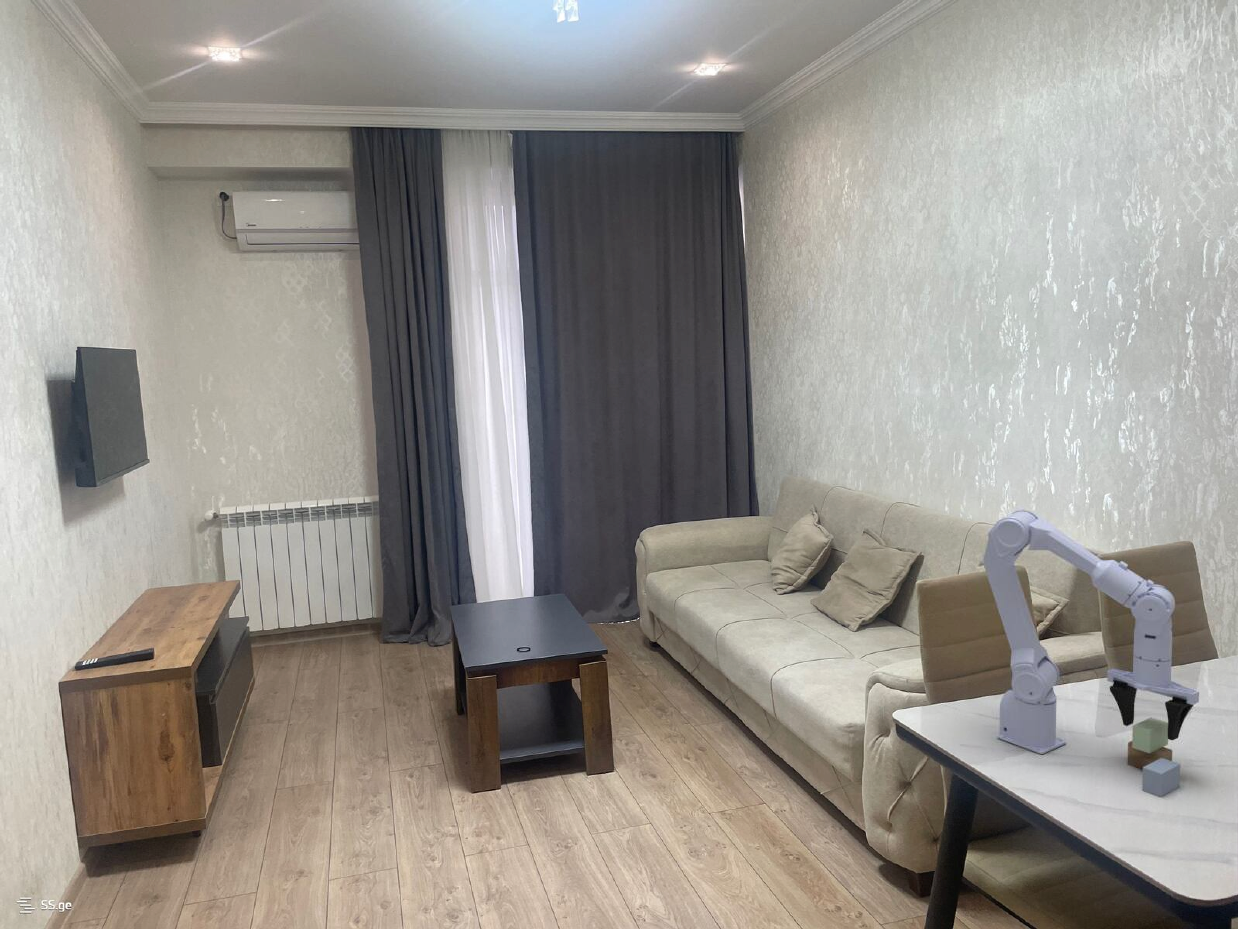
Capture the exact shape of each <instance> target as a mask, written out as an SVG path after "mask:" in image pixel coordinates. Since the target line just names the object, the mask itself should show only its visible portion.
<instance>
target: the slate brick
mask: <svg viewBox="0 0 1238 929" xmlns="http://www.w3.org/2000/svg"><path fill="white" fill-rule="evenodd" d="M1141 783H1142V784H1141V785H1142V786H1141V790H1142V791H1144V792H1146V793H1149V794H1152V795H1154V796H1157V797H1160V798H1161V797H1164V796H1165V795H1167V794H1169V793H1171V792H1173V791H1174V790H1176V789H1179V787H1180V785H1181V763H1179V762H1174V761H1173V760H1172V761H1170V760H1167V759H1164V758H1160V759H1158V760H1156V761H1154V762H1152V763H1151V764H1149V765H1147V766H1145V767H1143V769H1142V782H1141Z"/></svg>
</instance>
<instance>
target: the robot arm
mask: <svg viewBox="0 0 1238 929" xmlns="http://www.w3.org/2000/svg"><path fill="white" fill-rule="evenodd" d="M987 537H988V540H987V543H986V547H985V551H984V555H983V560H982V562H983V566H984V570H985V573H986V576H987V579H988V582H989V585H990V588H991V592H992V595H993V598H994V601H995V604H996V606H997V610H998V613H999V616H1000V618H1001V622H1002V625H1003V629H1004V631H1005V632H1004V633H1005V635H1006V638H1007V641H1008V644H1009V647H1010V652H1011V654H1010V665H1009V666H1010V669H1011V673H1012V677H1011V683H1010V684H1011V688H1012V689H1009V690H1007V691H1006V692H1005V693H1004V694H1003V696H1002V697H1001V700H1000V703H999V734H997V735H996V737H997V739H999V740H1002V741H1004V742H1007V743H1011V744H1014V745H1016V746H1018V747H1021V748H1024V749H1026V750H1029V751H1032V752H1034V753H1037V754H1039V755H1043V754H1046V753H1048V752H1050V751H1052V750H1054V749H1057V748H1059V747H1061V746H1064V745H1066V744H1067V742H1066V740H1065V739H1061V738H1059V737H1057V695H1056V693H1055V691H1054V690H1055V689H1054V688H1053V687H1055V686H1056V685H1057V684H1058V682H1059V681H1060V680H1059V679H1060V670H1059V668H1058V667H1057V665H1056V663H1055V662H1054V661H1052V659H1051V657H1050V656H1049V653H1048V650H1047V649H1046V648H1045V647H1044V646H1043V645H1042V644H1041V643H1040V641H1039V637H1038V633H1037V630H1036V627H1035V625H1034V621H1033V618H1032V615H1031V612H1030V609H1029V606H1028V603H1027V600H1026V597H1025V593H1024V590H1023V588H1022V585H1021V581H1020V578H1019V575H1018V572H1017V569H1016V566H1015V562H1016V561H1017V560H1018V558H1020V556H1021V554H1022V553H1023V551H1024V549H1025V548H1026V547H1028V551H1049V552H1051V553H1052V554H1054V555H1056V556H1057V557H1059V558H1060V559H1062V560H1064V561H1066V562H1068V563H1069V564H1071V565H1073V567H1076V568H1077V569H1078V570H1081V571H1083V572H1084V573H1086V574H1087V575H1089V576H1090V579H1091V582H1092V585H1093V587H1095V588H1096V589H1098V590H1099V591H1100V592H1102V593H1104V594H1105V595H1107V596H1109V597H1110V598H1111V599H1113V600H1115V601H1116V602H1118V603H1119V604H1120V605H1122V606H1123V607H1125V608H1128V609H1130V612H1131V614H1132V616H1133V618H1134V619H1135V624H1134V625H1135V626H1134V629H1133V656H1132V657H1133V658H1132V659H1133V660H1132V662H1133V664H1132V666H1133V667H1132V671H1126V670H1121V669H1116V668H1112V669H1109V670H1107V676H1106V677H1107V682H1109V683H1112V685H1110V686H1109V691H1110V694H1112V696H1113V699H1114V700H1115V702H1116V704H1117V706H1118V709H1119V713H1120V717H1121V719H1122V724H1123V725H1122V726H1125V727H1128V726H1130V725H1132V724H1134V722H1135V702H1136V696H1137V690H1140V691H1144V692H1145V691H1146V692H1151V693H1154V694H1157V695H1161V696H1165V697H1169V698H1172V699H1169V700H1167V701H1165V702H1164V706H1165V710H1166V715H1167V722H1168V741H1169V740H1170V741H1175V740H1177V739H1178V738H1179V736H1180V732H1181V729H1182V727H1183V723H1184V721H1185V719H1186V717H1187V716H1188V714H1189V713H1190V711H1191V709H1192V708H1193V707H1194V705H1196V704H1198V703H1200V691H1199V690H1195V689H1193V688H1190V687H1187V686H1185V685H1182V684H1180V683H1177V682H1174V681H1172V661H1173V660H1172V657H1173V655H1172V653H1173V632H1172V628H1173V623H1172V617H1171V616H1172V614H1173V612H1174V611H1175V607H1176V600H1175V597H1174V595H1173V594H1172V592H1170V590H1168V589H1167V588H1166V586H1163V585H1161V584H1155V582H1154V581H1152V580H1150V579H1147V580H1146V579H1144V578H1143V577H1141V576H1140V575H1139V574H1137V573H1136V572H1133V571H1132V570H1130V569H1129V568H1128V567H1129V564H1127V563H1126V562H1125V561H1122V560H1121V561H1119V562H1118V561H1116V560H1115V559H1109V560H1104V559H1103V560H1102V559H1101V558H1099V557H1098V556H1096V555H1095V554H1094V553H1092V552H1091V551H1089V550H1088V549H1086V548H1085V547H1084V546H1082V545H1081V544H1080V543H1078V542H1076V540H1074V539H1072V538H1071V537H1070V536H1068V534H1066V533H1064V532H1063V531H1061V530H1060V529H1058V528H1057V527H1055V526H1054V525H1053V524H1051V522H1049V521H1048V520H1046V519H1044V518H1043V517H1039V516H1037V515H1036V513H1034V512H1032V511H1030V510H1026V509H1019V510H1015V511H1014V512H1012V513H1011V514H1009V515H1008V516H1005V517H1003V518H1000V519H998V520H997V521H996V523H995V524H994V525H993V526H992V527H991V529H990V530H989V531H988V532H987Z"/></svg>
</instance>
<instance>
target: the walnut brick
mask: <svg viewBox="0 0 1238 929" xmlns="http://www.w3.org/2000/svg"><path fill="white" fill-rule="evenodd" d="M1160 758H1164V759H1167V760H1170V761H1173V749H1171V748H1168V747H1166V746H1164V747H1162V748H1160V749H1158V750H1156V751H1154V752H1152V753H1147V752H1144V751H1141V750H1138V749H1135V748H1132V740H1130V741H1129V742H1127V765H1130V766H1132V767H1135V768H1138V769H1141V770H1143V767H1145V766H1147V765H1149V764H1151V763H1152V762H1154V761H1156V760H1158V759H1160Z"/></svg>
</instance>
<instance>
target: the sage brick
mask: <svg viewBox="0 0 1238 929" xmlns="http://www.w3.org/2000/svg"><path fill="white" fill-rule="evenodd" d="M1131 732H1132V734H1131V735H1132V739H1131V741H1132V748H1135V749H1138V750H1141V751H1144V752H1147V753H1152V752H1154V751H1156V750H1158V749H1160V748H1162V747H1166V746H1167V745H1169V739H1168V721H1164V720H1161V719H1158V718H1155V717H1149V718H1146V719H1144V720H1142V721H1140V722H1138V723H1135V724H1134V725H1132V731H1131Z"/></svg>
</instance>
